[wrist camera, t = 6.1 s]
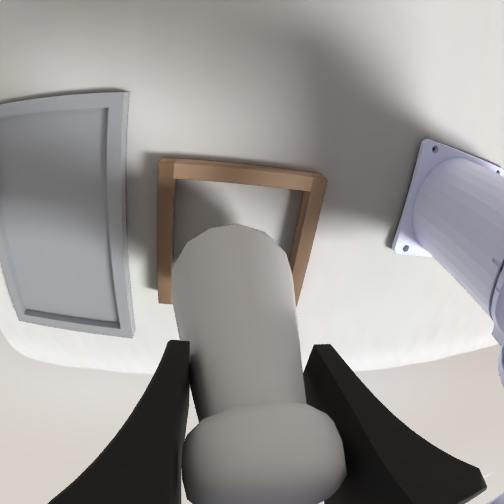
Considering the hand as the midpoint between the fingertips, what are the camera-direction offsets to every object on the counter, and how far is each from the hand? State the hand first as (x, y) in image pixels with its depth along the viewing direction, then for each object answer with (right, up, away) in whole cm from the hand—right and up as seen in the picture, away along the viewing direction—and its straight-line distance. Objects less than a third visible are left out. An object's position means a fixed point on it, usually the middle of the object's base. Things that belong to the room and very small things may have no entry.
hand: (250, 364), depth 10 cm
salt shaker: (-1, +3, +7) cm, 8 cm away
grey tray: (-12, +6, +7) cm, 15 cm away
